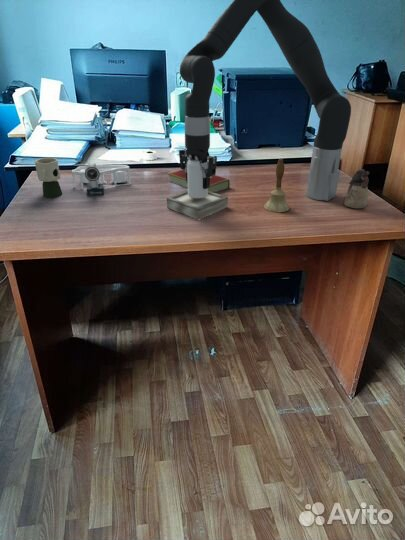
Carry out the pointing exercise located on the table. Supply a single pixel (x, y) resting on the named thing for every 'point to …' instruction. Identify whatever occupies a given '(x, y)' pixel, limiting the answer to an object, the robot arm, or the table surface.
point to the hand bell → (278, 193)
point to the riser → (197, 204)
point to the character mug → (49, 176)
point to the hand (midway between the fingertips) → (197, 185)
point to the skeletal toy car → (116, 174)
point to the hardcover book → (215, 181)
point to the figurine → (357, 190)
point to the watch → (93, 180)
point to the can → (196, 180)
